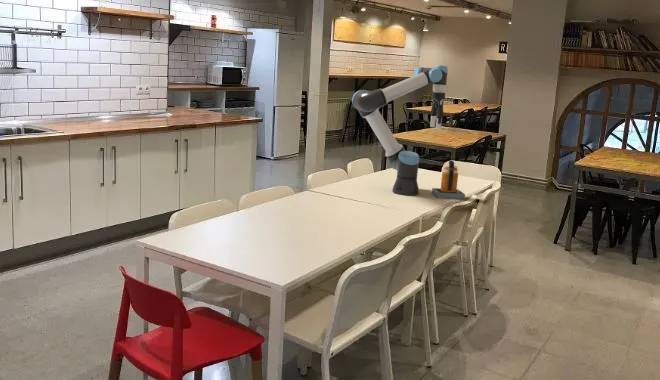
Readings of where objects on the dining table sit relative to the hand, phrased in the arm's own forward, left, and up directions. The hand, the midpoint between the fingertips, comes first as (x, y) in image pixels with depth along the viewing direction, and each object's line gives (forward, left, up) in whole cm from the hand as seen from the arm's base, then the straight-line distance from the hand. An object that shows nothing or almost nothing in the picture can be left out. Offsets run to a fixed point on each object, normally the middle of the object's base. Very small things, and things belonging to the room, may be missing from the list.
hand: (435, 128), depth 367 cm
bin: (+6, -20, -37) cm, 42 cm away
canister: (+6, -20, -36) cm, 42 cm away
